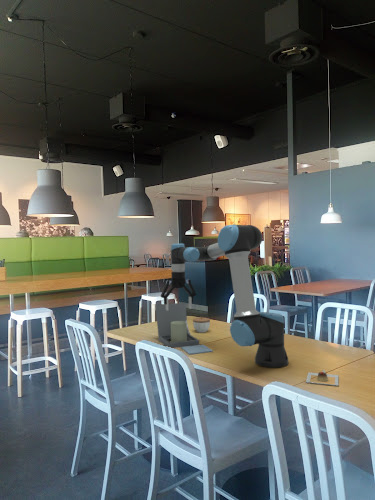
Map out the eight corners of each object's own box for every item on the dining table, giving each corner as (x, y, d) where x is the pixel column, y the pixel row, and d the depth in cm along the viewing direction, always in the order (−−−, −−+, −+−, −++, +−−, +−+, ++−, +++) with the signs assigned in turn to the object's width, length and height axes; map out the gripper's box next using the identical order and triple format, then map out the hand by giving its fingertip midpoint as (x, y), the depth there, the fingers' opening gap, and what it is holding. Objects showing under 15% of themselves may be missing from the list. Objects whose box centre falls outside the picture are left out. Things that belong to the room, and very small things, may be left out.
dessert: (305, 384, 158) (305, 372, 158) (308, 374, 169) (308, 363, 169) (338, 388, 154) (338, 375, 153) (338, 377, 165) (338, 366, 165)
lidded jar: (213, 330, 252) (213, 315, 252) (204, 334, 243) (204, 318, 243) (198, 328, 258) (198, 314, 258) (189, 332, 249) (189, 317, 248)
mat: (213, 351, 205) (213, 350, 205) (189, 354, 200) (189, 353, 200) (203, 345, 217) (203, 344, 217) (180, 348, 212) (180, 347, 212)
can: (185, 345, 218) (185, 323, 217) (169, 344, 220) (168, 323, 219) (188, 341, 227) (188, 320, 226) (172, 340, 229) (172, 319, 228)
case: (199, 344, 219) (198, 308, 218) (167, 348, 213) (167, 310, 212) (185, 335, 240) (184, 302, 240) (156, 338, 234) (155, 304, 234)
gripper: (196, 269, 230) (197, 306, 231) (154, 271, 222) (155, 309, 222) (201, 270, 223) (202, 308, 224) (158, 272, 215) (158, 312, 215)
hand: (178, 309), depth 223 cm, fingers open, 13 cm apart
